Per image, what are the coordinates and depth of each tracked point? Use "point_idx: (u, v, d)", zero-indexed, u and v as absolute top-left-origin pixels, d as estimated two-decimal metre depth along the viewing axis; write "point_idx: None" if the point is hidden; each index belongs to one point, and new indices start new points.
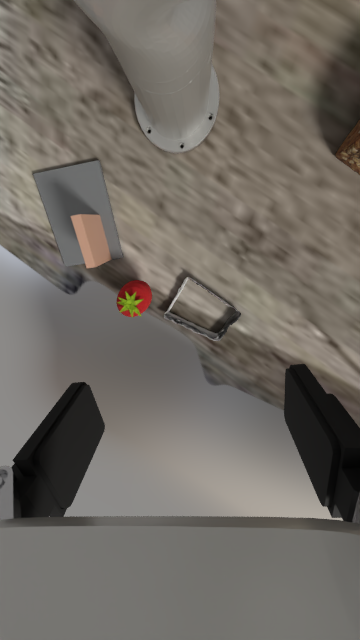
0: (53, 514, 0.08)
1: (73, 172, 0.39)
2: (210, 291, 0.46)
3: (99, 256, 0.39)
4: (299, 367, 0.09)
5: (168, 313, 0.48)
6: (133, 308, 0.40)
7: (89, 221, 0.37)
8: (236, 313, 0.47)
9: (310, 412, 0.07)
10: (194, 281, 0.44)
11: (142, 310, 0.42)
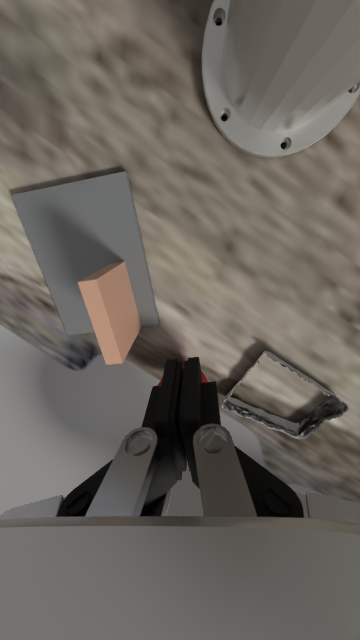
0: None
1: (80, 192, 0.22)
2: (297, 370, 0.29)
3: (126, 337, 0.23)
4: (192, 359, 0.11)
5: (227, 399, 0.32)
6: None
7: (111, 283, 0.21)
8: (335, 401, 0.30)
9: None
10: (279, 362, 0.27)
11: None
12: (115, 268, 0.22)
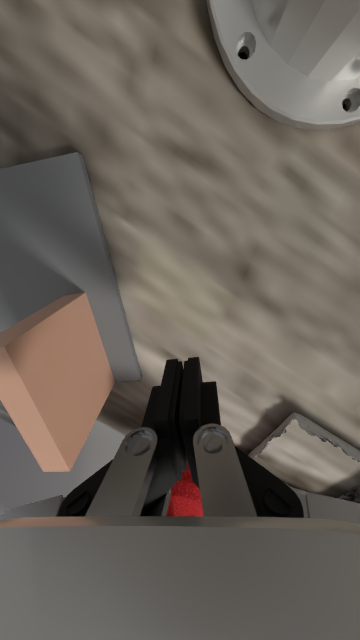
0: None
1: (9, 187, 0.14)
2: (337, 438, 0.21)
3: (82, 417, 0.14)
4: (192, 359, 0.11)
5: None
6: None
7: (49, 339, 0.12)
8: None
9: None
10: (317, 435, 0.18)
11: None
12: (62, 309, 0.14)
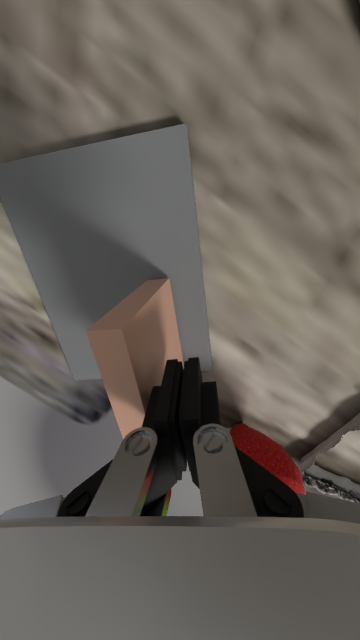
0: None
1: (105, 162, 0.13)
2: None
3: None
4: (192, 359, 0.11)
5: None
6: None
7: (148, 325, 0.11)
8: None
9: None
10: None
11: None
12: (156, 294, 0.13)
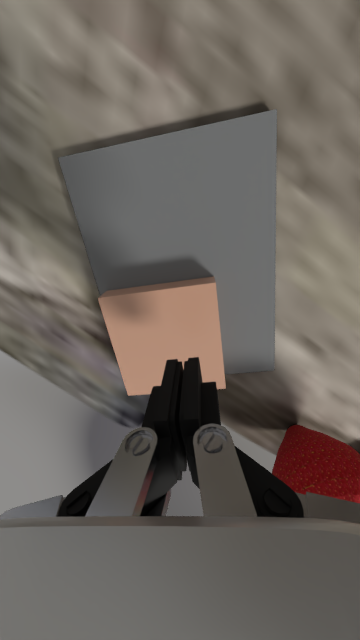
0: None
1: (185, 152, 0.12)
2: None
3: (155, 379, 0.17)
4: (192, 359, 0.11)
5: None
6: None
7: (138, 308, 0.15)
8: None
9: None
10: None
11: None
12: (165, 290, 0.14)
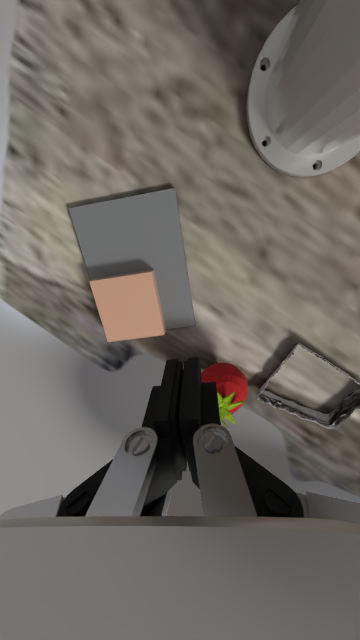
0: None
1: (132, 206, 0.25)
2: (327, 361, 0.31)
3: (123, 330, 0.29)
4: (192, 359, 0.11)
5: (261, 392, 0.33)
6: (225, 414, 0.26)
7: (111, 287, 0.27)
8: None
9: None
10: (313, 352, 0.29)
11: None
12: (125, 276, 0.26)
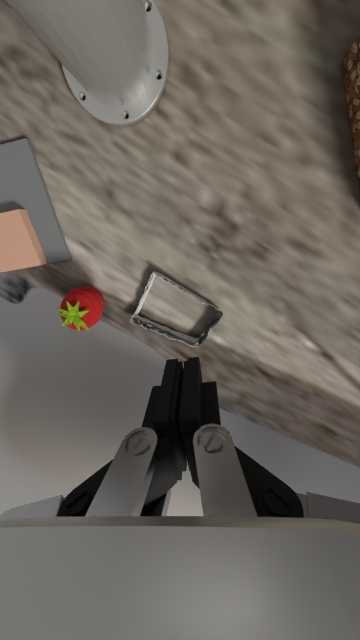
0: None
1: None
2: (184, 288, 0.38)
3: (9, 261, 0.36)
4: (192, 359, 0.11)
5: (136, 317, 0.40)
6: (78, 321, 0.33)
7: None
8: (218, 313, 0.39)
9: None
10: (161, 276, 0.35)
11: (91, 323, 0.34)
12: None
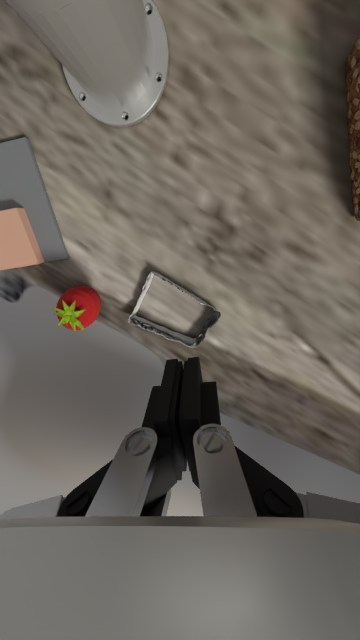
0: None
1: None
2: (182, 288, 0.38)
3: (6, 260, 0.36)
4: (192, 359, 0.11)
5: (134, 317, 0.40)
6: (74, 321, 0.33)
7: None
8: (216, 313, 0.39)
9: None
10: (159, 276, 0.35)
11: (87, 322, 0.34)
12: None
